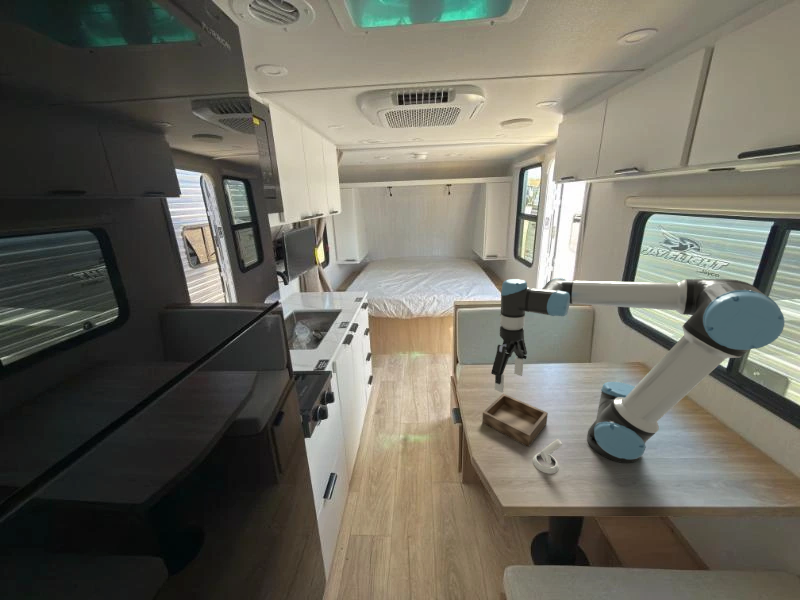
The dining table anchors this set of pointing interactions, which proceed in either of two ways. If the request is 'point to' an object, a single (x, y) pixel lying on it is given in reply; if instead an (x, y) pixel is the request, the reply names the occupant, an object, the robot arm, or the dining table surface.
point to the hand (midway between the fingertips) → (509, 382)
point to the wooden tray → (515, 419)
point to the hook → (548, 457)
